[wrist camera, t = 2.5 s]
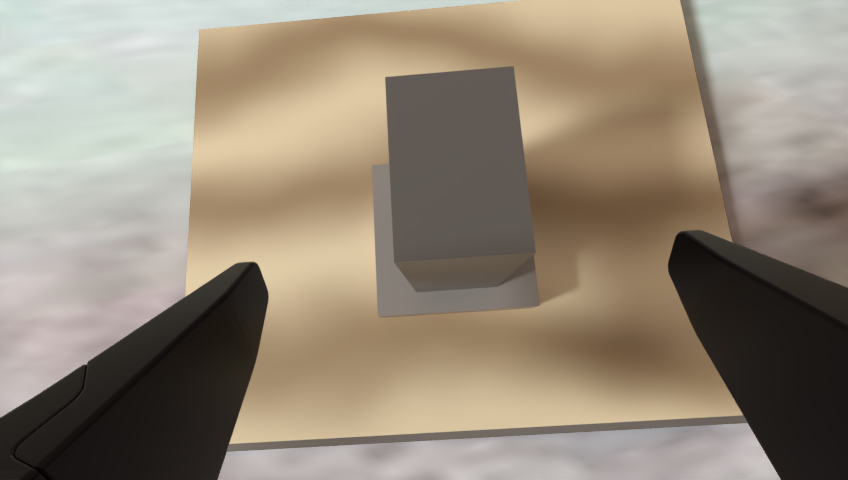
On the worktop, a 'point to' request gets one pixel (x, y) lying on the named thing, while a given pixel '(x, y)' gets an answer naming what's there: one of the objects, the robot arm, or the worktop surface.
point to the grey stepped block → (453, 197)
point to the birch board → (550, 209)
